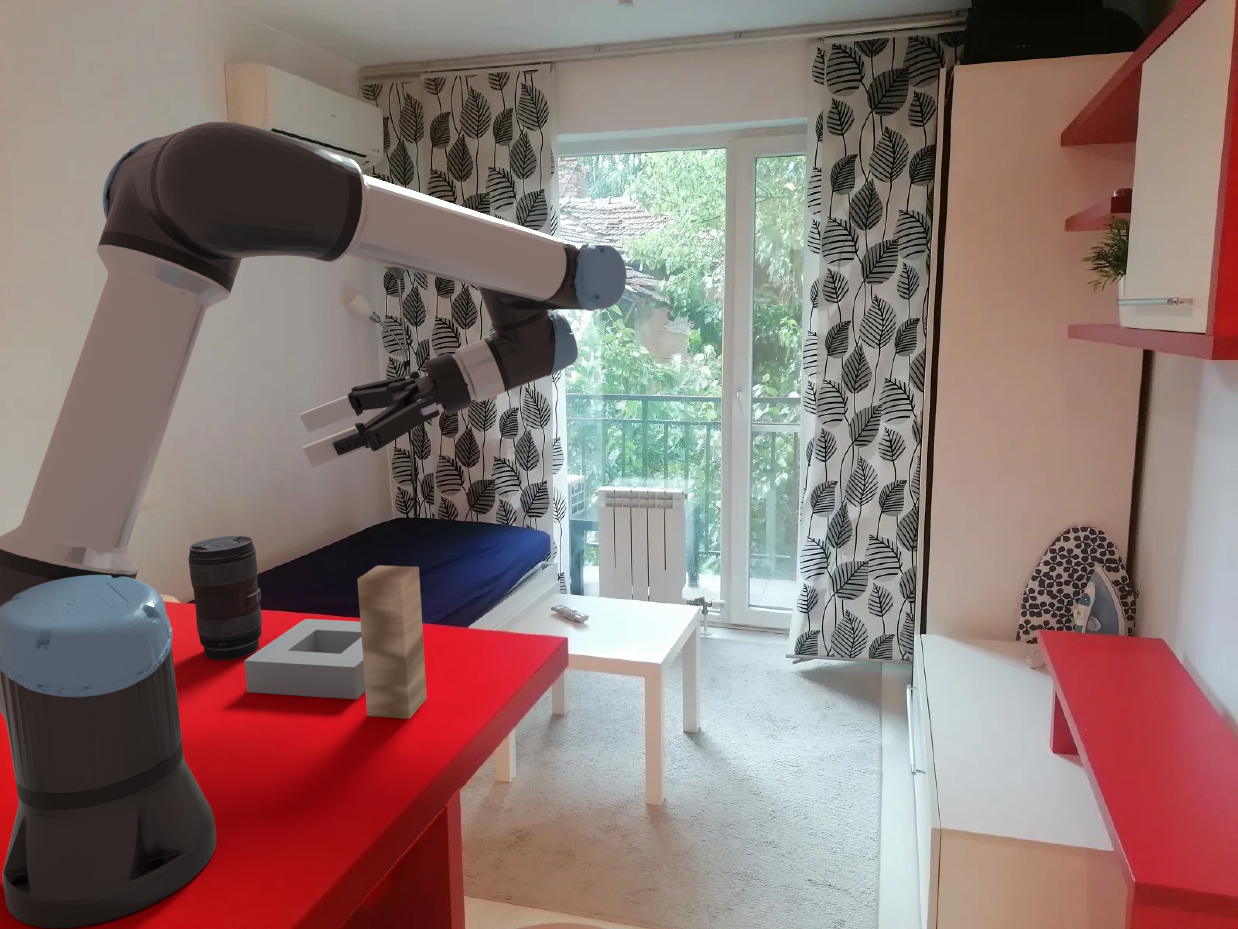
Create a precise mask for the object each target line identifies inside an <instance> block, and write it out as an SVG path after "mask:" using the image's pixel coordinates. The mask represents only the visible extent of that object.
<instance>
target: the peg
mask: <svg viewBox="0 0 1238 929" xmlns="http://www.w3.org/2000/svg"><path fill="white" fill-rule="evenodd" d="M420 579H421V578H420V566H399V565H376V566H374V567H373V568H372V569H370V570H368V571H367V572H366V573H364V574H363V575H361V576H359V577H358V578H357V590H358V591H357V593H358V607H359V617H360V618H359V619H360V620H359V622H361V635H362V649H363V663H364V677H365V690H366V691H365V699H366V700H365V702H366V716H367V717H378V718H379V717H381V718H392V719H393V718H395V719H405V720H407V719H408V720H409V719H410V718H412V716H414V714H415V713H416V712H417V711H418V710H419V709H420V707H421V706H422V705H423V704H424V702H426V700H427V698H428V697H427V682H426V680H427V679H426V669H425V668H426V666H425V665H426V664H425V651H424V650H425V649H424V648H425V647H424V632H423V630H424V628H423V617H422V616H423V614H422V596H421V582H420V581H421V580H420Z"/></svg>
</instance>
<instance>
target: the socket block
mask: <svg viewBox="0 0 1238 929" xmlns="http://www.w3.org/2000/svg"><path fill="white" fill-rule="evenodd" d="M243 661H244V670H245V671H244V672H245V682H246V692H247V693H256V694H270V695H287V696H301V697H313V698H314V697H316V698H327V699H329V698H332V699H333V698H334V699H345V700H346V699H347V700H358V699H359V698H361V696H362V695H363V694H364V693H366V690H365V677H364V663H363V649H362V635H361V621H357V620H356V621H355V620H336V619H335V620H334V619H333V620H331V619H318V618H317V619H314V618H313V619H312V618H305V619H303V620H301V621H300V622H299V623H296V625H294V626H293V627H291V628H290V629H288V630H287V631H285V632H283V634H281V635H279V636H278V637H277V638H275V639H274V640H272V641H271V642H270V643H268V644H267V645H265V646H264V647H262V648H261V649H258V650H257V651H255V652H254V654H253V653H252V654H251V655H250V656H249V657H247V658H246V659H245V660H243Z"/></svg>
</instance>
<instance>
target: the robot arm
mask: <svg viewBox="0 0 1238 929" xmlns="http://www.w3.org/2000/svg"><path fill="white" fill-rule="evenodd" d="M102 191H103V192H102V207H103V214H104V217H105V219H106V222H105V224H104V227H103V230H102V233H101V235H100V239H99V242H98V244H97V248H96V253H97V254H98V257H99V259H100V260H101V262H102V264H103V265H104V267H105V269H106V271H107V277H106V281H105V284H104V287H103V288H102V292H101V294H100V297H99V301H98V304H97V305H96V309H95V312H94V315H93V318H92V320H91V323H90V326H89V330H88V332H87V333H86V334H87V335H86V338H85V341H84V343H83V347H82V350H81V352H80V355H79V357H78V360H77V363H76V366H75V369H74V372H73V375H72V377H71V380H70V383H69V386H68V389H67V392H66V394H65V398H64V400H63V403H62V405H61V406H62V407H61V409H60V412H59V415H58V417H57V419H56V423H55V426H54V429H53V431H52V434H51V437H50V441H49V443H48V446H47V448H46V451H45V454H44V457H43V460H42V463H41V465H40V469H39V471H38V475H37V477H36V480H35V483H34V485H33V489H32V491H31V493H30V498H29V500H28V502H27V505H26V509H25V511H24V514H23V517H22V520H21V523H20V524H19V525H18V526H17V527H16V528H14V529H13V528H12V529H11V530H9V531H7V532H6V533H3V534H2V535H0V713H1V715H2V716H3V718H4V722H5V724H6V728H7V733H8V742H9V748H10V754H11V759H12V766H13V773H14V779H15V786H16V793H17V799H18V806H17V808H16V810H17V811H16V814H15V818H14V823H13V827H12V832H11V834H10V839H9V843H8V847H7V852H6V856H5V861H4V864H3V868H2V886H3V891H4V892H3V893H4V898H5V906H6V908H7V910H8V912H9V913H10V914H11V916H13V917H14V918H15V919H16V920H18V921H20V922H22V923H24V924H27V925H31V926H34V927H39V928H40V927H41V928H45V929H47V928H48V929H49V928H50V929H65V928H66V929H67V928H69V929H70V928H76V927H77V928H78V927H86V926H90V925H96V924H100V923H104V922H108V921H111V920H115V919H118V918H122V917H124V916H127V915H131V914H132V913H136V912H137V911H141V910H143V909H145V908H147V907H149V906H151V905H153V904H155V903H157V902H159V901H161V900H163V899H165V898H166V897H169V896H170V895H171V894H173V893H175V892H176V891H178V890H180V889H182V887H184V886H185V885H186V884H188V883H189V882H190V881H191V880H192V879H194V878H195V877H196V876H197V875H198V874H199V873H200V872H201V871H202V870H203V869H204V868H205V866H206V865H207V864H208V863H209V861H210V859H211V858H212V857H213V855H214V852H215V850H216V847H217V831H216V824H215V822H216V821H215V817H214V816H215V814H214V813H213V809H212V807H211V805H210V803H209V802H208V799H207V798H206V797H205V794H204V793H203V791H202V789H201V787H200V784H199V783H198V781H197V779H196V778H195V776H194V774H193V772H192V770H191V768H190V767H189V765H188V764H187V762H186V759H185V755H184V746H183V738H182V730H181V728H182V727H181V719H180V708H179V701H178V692H177V691H178V690H177V683H176V673H175V671H176V670H175V665H174V655H173V646H172V644H173V637H174V636H173V627H172V626H171V621H170V618H169V616H168V614H167V608H166V604H165V601H164V599H163V596H162V595H161V594H160V593H159V592H158V591H157V589H156V588H154V587H153V586H152V585H150V584H148V583H146V582H144V581H142V580H139V579H136V578H137V575H138V571H139V568H138V565H137V564H136V562H135V560H134V559H133V557H132V556H131V554H130V553H129V550H128V545H129V542H130V539H131V536H132V533H133V530H134V527H135V524H136V522H137V518H138V515H139V512H140V509H141V506H142V503H143V500H144V497H145V494H146V490H147V489H148V485H149V482H150V479H151V477H152V476H151V475H152V473H153V471H154V467H155V464H156V461H157V459H158V456H159V452H160V450H161V446H162V444H163V440H164V438H165V434H166V432H167V429H168V425H169V422H170V419H171V416H172V413H173V411H174V407H175V404H176V401H177V399H178V395H179V392H180V389H181V386H182V383H183V380H184V378H185V374H186V372H187V370H188V365H189V362H190V361H191V360H190V359H191V356H192V354H193V351H194V347H195V345H196V341H197V339H198V336H199V333H200V331H201V330H200V329H201V327H202V324H203V321H204V319H205V314H206V312H207V310H208V309H209V308H211V307H213V306H214V305H216V304H219V303H221V302H223V301H226V300H228V299H229V298H230V296H231V292H232V290H233V286H234V283H235V281H236V277H237V275H238V272H239V269H240V265H241V262H242V259H244V258H245V259H247V258H254V257H273V256H274V257H275V256H276V257H277V256H279V257H280V256H288V257H303V258H310V259H314V260H318V261H322V262H327V263H336V262H337V261H339V260H341V259H343V258H344V257H345V256H349V257H352V258H353V257H354V258H357V259H362V260H366V261H370V262H373V263H379V264H383V265H386V266H391V267H395V268H399V269H404V270H408V271H411V272H412V271H413V272H415V273H416V272H417V273H420V274H424V275H428V276H433V277H438V278H441V279H446V280H448V281H449V280H450V281H453V282H459V283H463V284H468V285H471V286H475V287H477V288H478V290H479V293H480V295H481V298H482V301H483V303H484V305H485V308H486V311H487V314H488V316H489V318H490V319H489V320H490V321H491V322H490V323H491V325H492V328H493V330H494V334H493V335H491V336H488V337H486V338H482V339H480V340H477V341H474V342H471V343H469V344H466V345H463V346H460V347H459V348H456V349H455V352H454V353H455V354H452V353H449V352H446V353H443V354H442V355H438V356H436V357H433V358H431V359H428V360H427V361H426V362H425V363H424V366H425V369H426V373H427V375H426V376H422V377H421V375H420V372H419V371H418V370H414V371H413V370H412V371H411V372H408V373H407V374H404V375H403V374H402V375H399V376H396V377H391V378H387V379H383V380H379V381H373V382H370V383H366V384H362V385H358V386H357V385H355V386H353V387H351V389H350V390H351V391H350V392H349V393H347V395H345V396H342V397H340V398H337V399H334V400H331V401H328V402H327V403H323V404H321V405H318V406H316V407H314V408H311V409H308V410H305V411H303V412H300V413H299V417H300V419H301V420H302V423H303V425H304V427H305V429H306V431H307V433H308V434H310V433H312V432H315V431H317V430H320V429H323V428H326V427H328V426H331V425H332V424H333V425H334V424H335V423H336V424H337V423H338V422H341V421H343V420H346V419H348V418H351V417H353V416H356V417H359V416H361V415H362V414H363V413H364V411H369V410H376V409H384V410H382V411H380V412H379V413H378V414H377V415H375V416H374V417H373V418H371V419H370V420H367V422H365V423H364V422H355V423H354V426H351V427H349V428H347V429H344V430H342V431H339V432H336V433H334V434H331V435H329V436H326V437H324V438H322V439H319V440H316V441H313V442H311V443H308V444H306V445H303V446H302V449H303V452H304V454H305V456H306V457H307V459H308V462H309V464H310V466H311V468H312V469H314V468H316V467H319V466H321V465H324V464H326V463H330V462H331V461H334V460H337V459H338V458H339V459H340V458H342V457H344V456H346V455H349V454H352V453H353V452H356V451H360V450H362V449H364V448H365V449H371V451H372V452H376V451H379V450H381V449H382V448H384V447H385V446H387V445H389V444H390V443H392V442H393V441H394V442H395V440H397V439H399V438H400V437H402V436H403V435H405V434H407V433H409V432H410V431H412V430H413V429H415V428H417V427H419V426H420V425H423V424H424V423H425V422H428V421H430V420H433V419H435V418H437V417H439V416H440V415H441V413H440V410H439V408H438V406H439V405H440V406H441V408H442V410H443V412H444V413H445V414H446V415H452V414H455V413H457V412H459V411H462V410H465V409H467V408H469V407H471V405H472V404H473V402H472V401H473V400H474V401H475V402H476V403H482V402H484V401H486V400H489V399H490V400H492V401H495V400H497V399H498V395H501V394H503V393H506V392H508V391H512V390H513V389H517V388H519V387H521V386H524V385H528V384H529V383H532V382H535V381H537V380H540V379H542V378H545V377H550V376H552V375H553V374H555V373H559V371H562V370H564V369H567V368H568V367H569V366H570V367H571V366H572V365H573V364H575V362H577V359H578V357H579V348H578V343H577V339H576V337H575V334H574V333H573V332H574V331H573V330H572V327H571V325H570V323H569V320H568V319H567V317H566V316H565V314H563V312H561V311H554V312H549V311H551V310H579V311H581V310H583V311H584V310H585V311H588V312H592V311H595V310H605V309H609V308H611V307H613V306H614V305H616V304H618V302H619V301H620V300H621V298H622V297H623V294H624V292H625V290H626V284H627V268H626V263H625V261H624V259H623V257H622V255H621V253H620V252H619V251H618V250H617V249H616V248H615V247H613V246H612V245H610V244H607V243H595V242H591V241H590V242H586V243H584V244H583V243H575V242H572V241H569V240H566V239H563V238H560V237H556V236H551V235H550V234H547V233H543V232H540V231H537V230H534V229H532V228H531V229H530V228H527V227H525V226H521V225H518V224H515V223H513V222H509V221H506V220H503V219H500V218H497V217H494V216H490V215H488V214H485V213H481V212H478V211H476V210H473V209H470V208H466V207H465V206H464V207H463V206H460V205H457V204H454V203H450V202H448V201H445V200H441V199H439V198H436V197H433V196H430V195H426V194H423V193H420V192H417V191H414V190H412V189H408V188H405V187H402V186H399V185H396V184H392V183H390V182H387V181H385V180H384V181H383V180H381V179H378V178H375V177H371V176H368V175H365V174H363V172H362V170H361V168H360V167H359V165H358V164H357V162H356V161H355V160H353V159H351V158H350V157H346V156H345V155H342V154H339V153H335V152H331V151H329V150H326V149H324V148H320V147H318V146H315V145H311V144H309V143H306V142H303V141H300V140H297V139H294V138H292V137H288V136H285V135H282V134H279V133H276V132H272V131H270V130H266V129H264V128H259V127H257V126H252V125H248V124H247V125H246V124H242V123H238V122H229V121H207V122H204V123H200V124H196V125H195V124H194V125H192V126H190V127H188V128H185V129H183V130H180V131H177V132H174V133H170V134H167V135H165V136H159V137H154V138H151V139H148V140H146V141H143V142H140V143H138V144H137V145H135V146H134V147H132V148H130V149H129V150H128V151H127V152H126V153H124V154H123V155H122V156H121V157H120V158H119V159H118V161H116V162H115V164H114V165H113V166H112V168H111V169H110V171H109V173H108V174H107V177H106V180H105V182H104V187H103V190H102Z"/></svg>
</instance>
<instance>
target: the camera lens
mask: <svg viewBox="0 0 1238 929" xmlns="http://www.w3.org/2000/svg"><path fill="white" fill-rule="evenodd" d="M187 560H188V566H189V576H190V577H189V578H190V581H191V582H190V583H191V586H192V588H193V596H194V605H195V606H194V607H195V619H196V629H197V633H198V637H199V642H200V645H201V646H202V647H203V652H204V656H205V657H206V658H208V659H210V660H216V661H229V660H235V659H236V660H237V659H240V658H244V657H247V656H249V655H253V653H256V652H257V651H258V650H259V647H260V640H259V639H260V638H261V637H262V634H263V633H262V624H263V618H262V609H261V605H260V601H261V600H262V591H261V587H260V588H259V586H258V578H259V576H258V559H257V552H256V548H255V545H254V541H253V538H251V537H250V536H245V535H229V536H221V537H220V536H219V537H213V538H209V539H204V540H200V541H198V542H194V543H193V544H191V545H190V546H189V554H188V559H187Z"/></svg>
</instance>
